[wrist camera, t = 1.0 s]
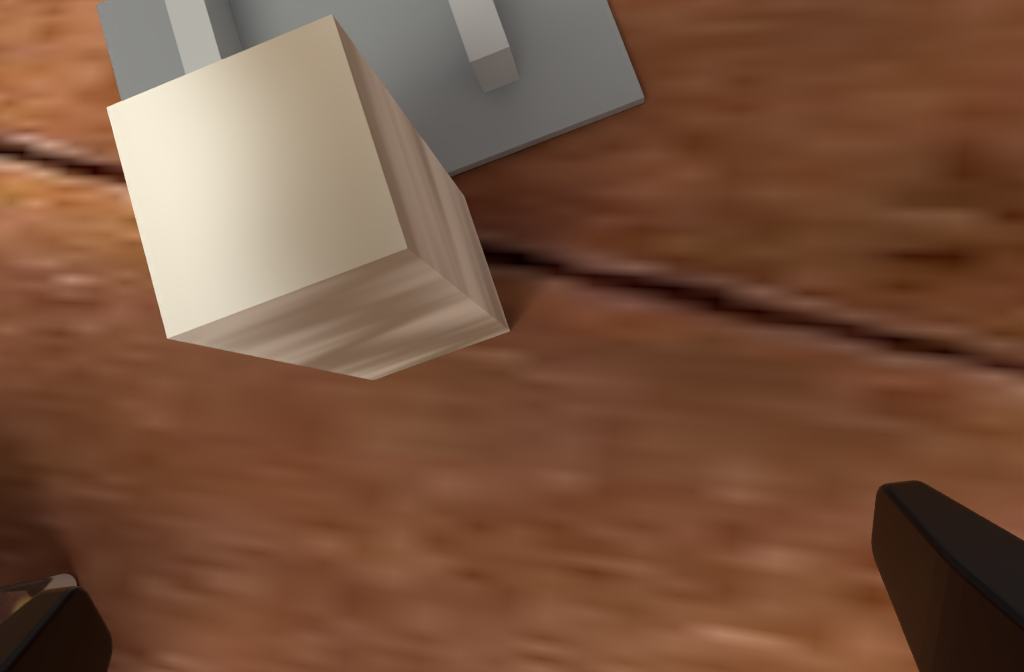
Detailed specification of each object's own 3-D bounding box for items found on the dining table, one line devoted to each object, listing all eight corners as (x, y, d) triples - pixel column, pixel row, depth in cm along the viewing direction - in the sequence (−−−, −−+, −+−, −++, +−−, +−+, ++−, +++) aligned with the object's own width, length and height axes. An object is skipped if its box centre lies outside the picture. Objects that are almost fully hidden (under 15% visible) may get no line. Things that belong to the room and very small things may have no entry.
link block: (373, 380, 24) (167, 338, 14) (331, 240, 25) (104, 97, 14) (510, 331, 24) (407, 247, 13) (462, 190, 25) (329, 4, 14)
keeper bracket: (176, 282, 26) (106, 259, 22) (103, 11, 28) (27, -50, 24) (644, 102, 24) (645, 48, 21) (536, -175, 26) (521, -268, 22)
